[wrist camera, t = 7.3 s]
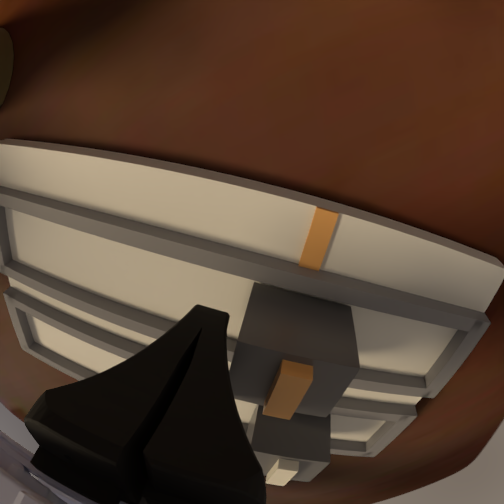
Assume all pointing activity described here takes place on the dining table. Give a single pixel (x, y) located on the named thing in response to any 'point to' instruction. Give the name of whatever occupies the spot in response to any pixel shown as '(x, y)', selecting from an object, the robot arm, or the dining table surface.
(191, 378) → the robot arm
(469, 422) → the dining table surface
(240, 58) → the dining table surface
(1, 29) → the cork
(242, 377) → the fader tab
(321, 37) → the dining table surface
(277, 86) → the dining table surface
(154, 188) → the console board
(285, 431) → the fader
